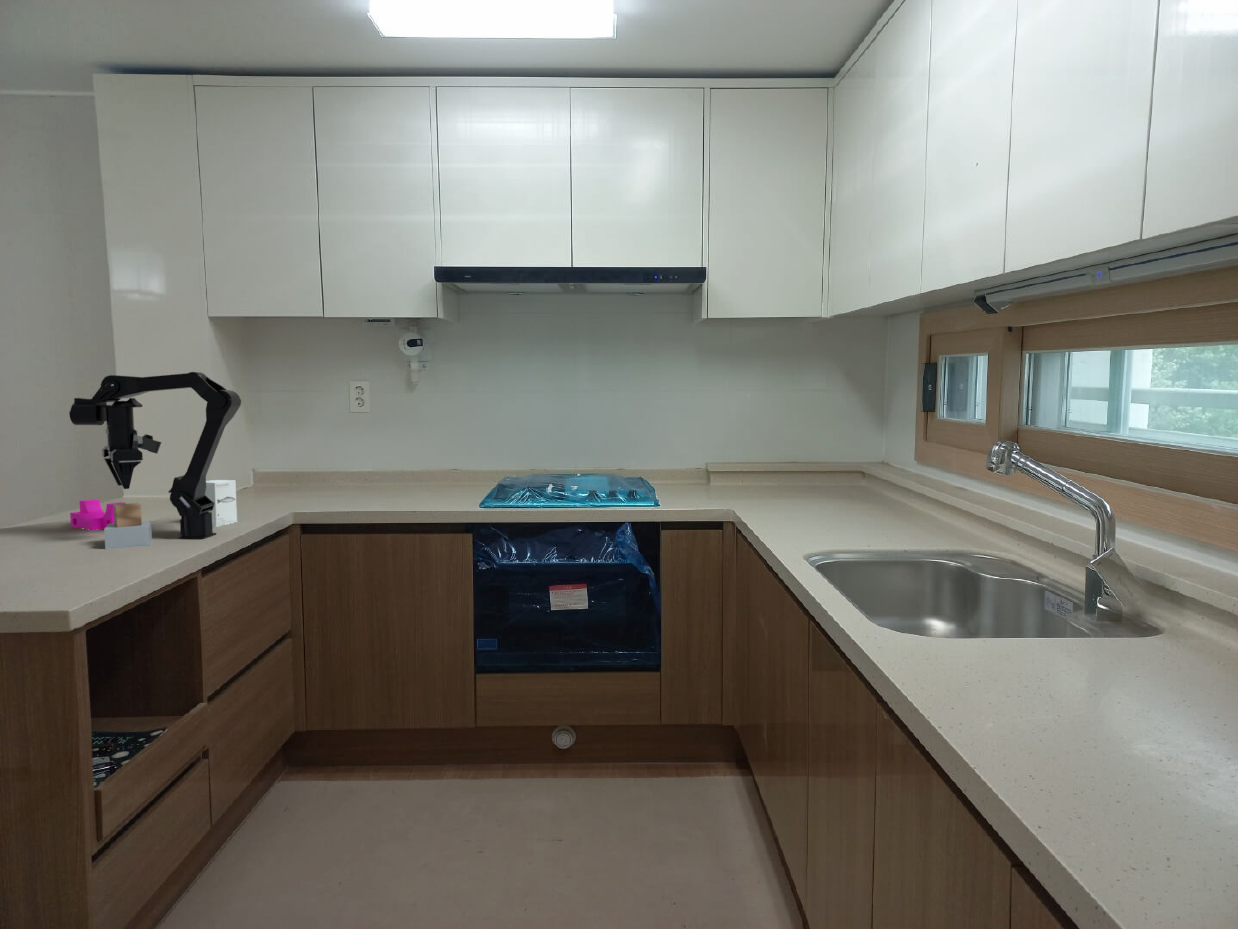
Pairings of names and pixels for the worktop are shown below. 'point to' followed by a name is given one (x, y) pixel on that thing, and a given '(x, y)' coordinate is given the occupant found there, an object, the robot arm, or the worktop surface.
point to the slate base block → (128, 536)
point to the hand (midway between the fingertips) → (123, 487)
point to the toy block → (93, 515)
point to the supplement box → (222, 501)
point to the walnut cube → (127, 515)
